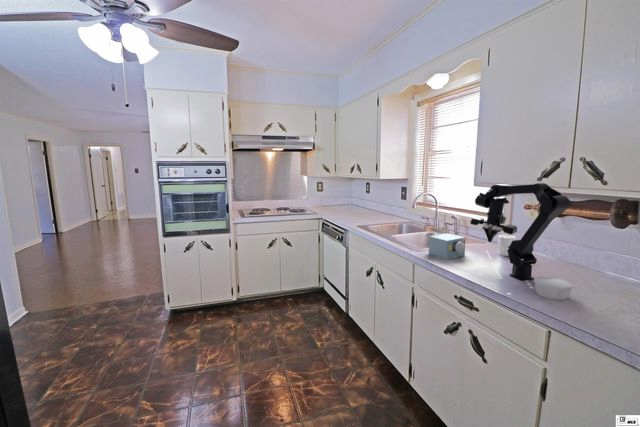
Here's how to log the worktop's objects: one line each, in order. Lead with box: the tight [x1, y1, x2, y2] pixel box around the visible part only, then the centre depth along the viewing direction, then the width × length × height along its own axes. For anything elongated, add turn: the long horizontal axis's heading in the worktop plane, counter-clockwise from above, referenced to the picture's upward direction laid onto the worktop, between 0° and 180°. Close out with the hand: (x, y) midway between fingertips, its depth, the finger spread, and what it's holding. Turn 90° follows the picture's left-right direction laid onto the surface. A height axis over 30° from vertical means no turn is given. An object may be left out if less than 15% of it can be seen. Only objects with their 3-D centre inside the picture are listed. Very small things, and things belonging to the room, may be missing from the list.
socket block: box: [428, 232, 467, 260], centre depth 160 cm, size 12×14×10 cm
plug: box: [453, 242, 466, 253], centre depth 158 cm, size 14×6×6 cm, turn 26°
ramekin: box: [533, 276, 573, 301], centre depth 108 cm, size 11×11×5 cm
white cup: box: [497, 234, 517, 257], centre depth 158 cm, size 8×8×10 cm
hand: (489, 242), depth 141 cm, fingers closed
